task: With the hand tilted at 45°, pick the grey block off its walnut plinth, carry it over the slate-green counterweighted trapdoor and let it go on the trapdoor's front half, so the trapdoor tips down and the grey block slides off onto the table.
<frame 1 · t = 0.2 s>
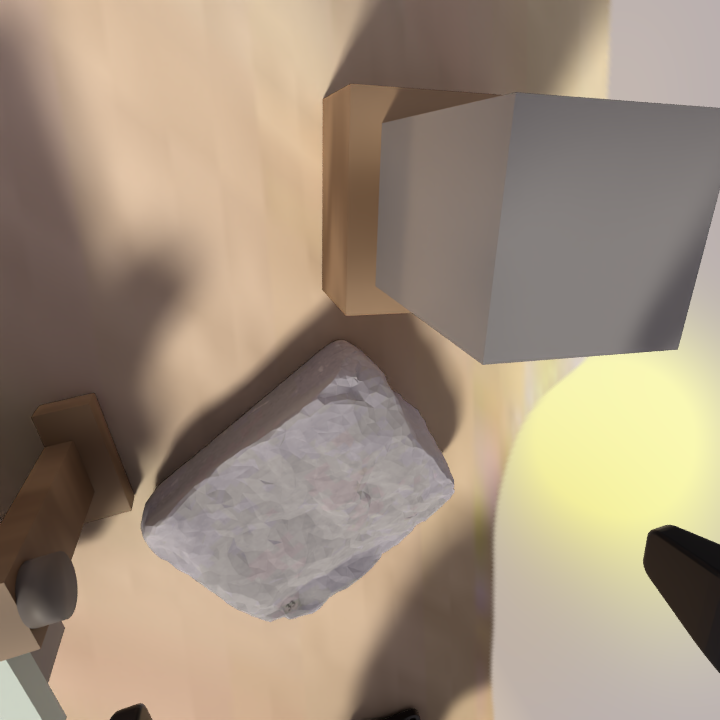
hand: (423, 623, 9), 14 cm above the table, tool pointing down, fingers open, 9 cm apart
stone block: (309, 472, 24), on the table
grey block: (450, 209, 17), point 4 cm above the table, touching plinth
plinth: (407, 201, 21), on the table
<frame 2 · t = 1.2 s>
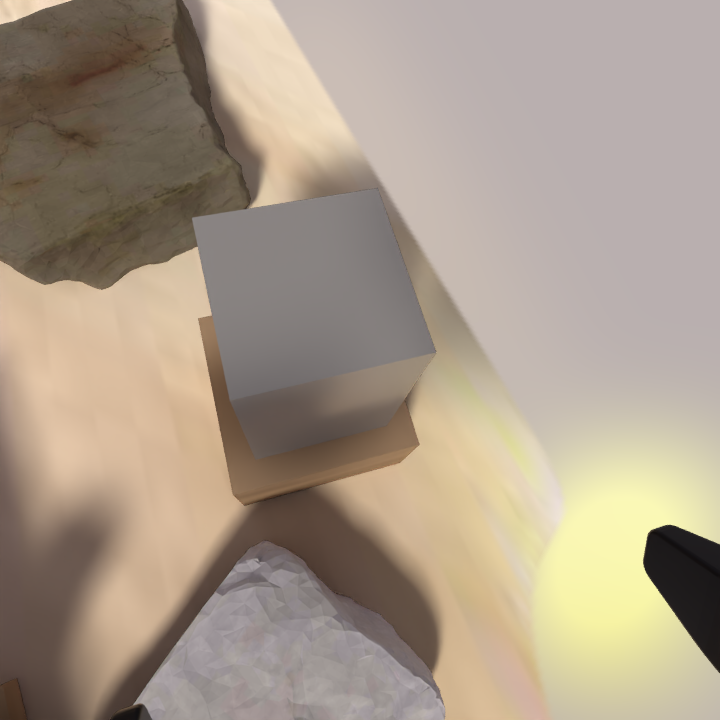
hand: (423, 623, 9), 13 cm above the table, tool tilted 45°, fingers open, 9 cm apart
grey block: (306, 380, 20), point 4 cm above the table, touching plinth
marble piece: (109, 163, 28), on the table
plinth: (305, 408, 23), on the table
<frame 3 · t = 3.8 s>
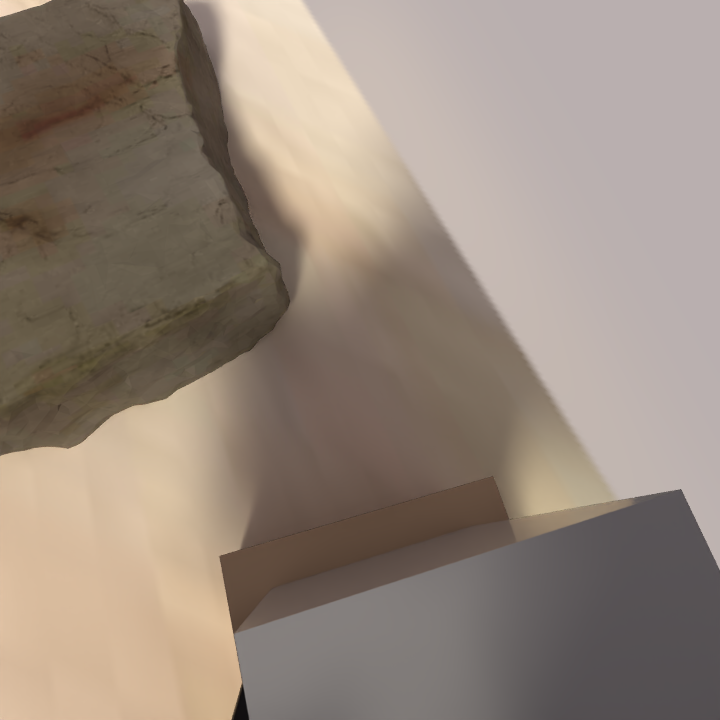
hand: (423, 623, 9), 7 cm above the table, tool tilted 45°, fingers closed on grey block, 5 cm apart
grey block: (407, 671, 11), point 4 cm above the table, touching gripper, plinth
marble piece: (84, 241, 19), on the table
plinth: (380, 643, 15), on the table
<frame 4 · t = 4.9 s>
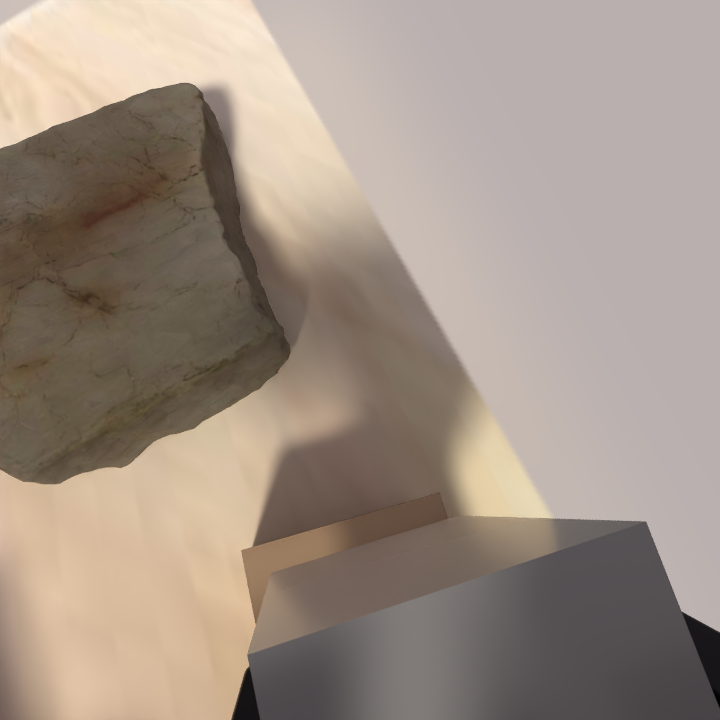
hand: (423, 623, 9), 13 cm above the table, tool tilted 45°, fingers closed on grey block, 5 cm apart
grey block: (395, 647, 12), point 8 cm above the table, touching gripper
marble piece: (126, 299, 24), on the table
plinth: (358, 616, 20), on the table
when the fingers open (13 cm above the table, at t = 6.4 s): grey block drops 6 cm, point 1 cm above the table.
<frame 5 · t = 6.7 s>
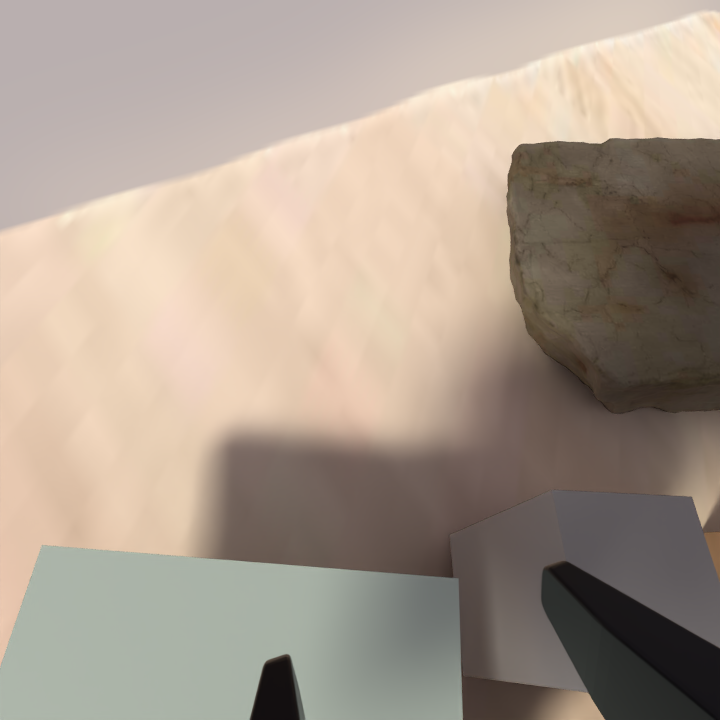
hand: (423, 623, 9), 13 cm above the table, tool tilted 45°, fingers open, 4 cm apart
grey block: (512, 600, 21), point 1 cm above the table, tilted 11°
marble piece: (633, 287, 28), on the table
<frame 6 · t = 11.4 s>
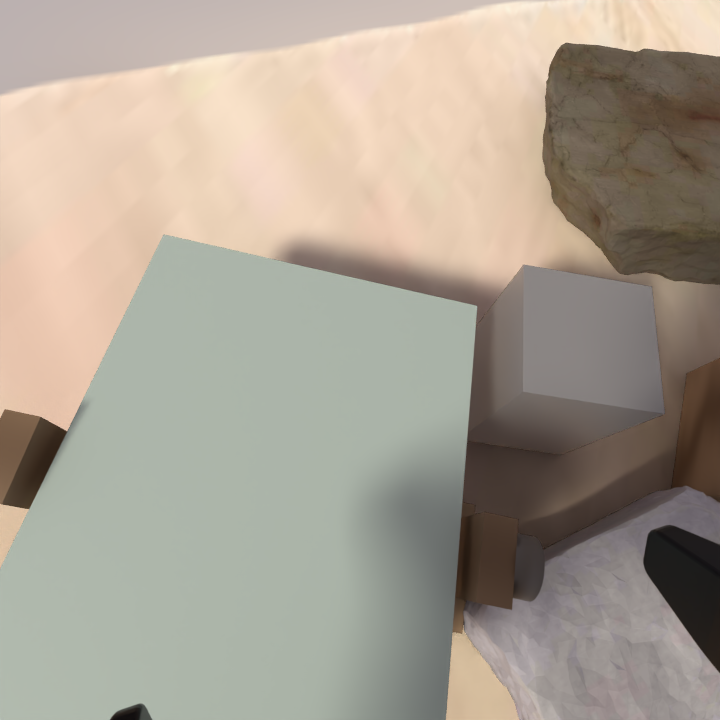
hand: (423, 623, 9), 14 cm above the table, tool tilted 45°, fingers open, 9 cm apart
stone block: (615, 645, 22), on the table
grey block: (510, 397, 25), on the table
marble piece: (652, 183, 32), on the table
trapdoor: (271, 482, 18), point 5 cm above the table, hinge at 7.2°
trapdoor frame: (270, 525, 22), on the table
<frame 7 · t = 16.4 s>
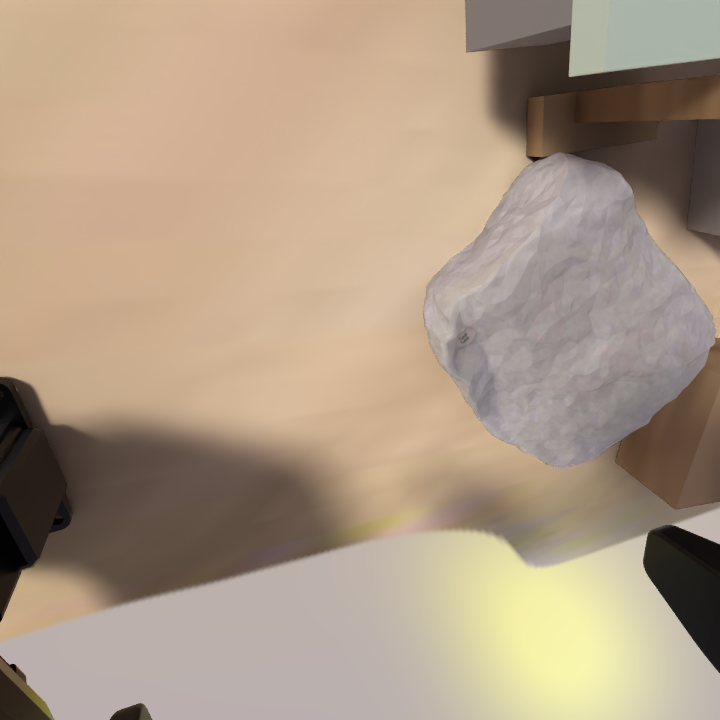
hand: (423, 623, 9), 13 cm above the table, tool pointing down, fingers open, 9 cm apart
stone block: (530, 321, 23), on the table
plinth: (685, 399, 28), on the table
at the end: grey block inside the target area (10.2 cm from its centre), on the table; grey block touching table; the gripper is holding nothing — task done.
